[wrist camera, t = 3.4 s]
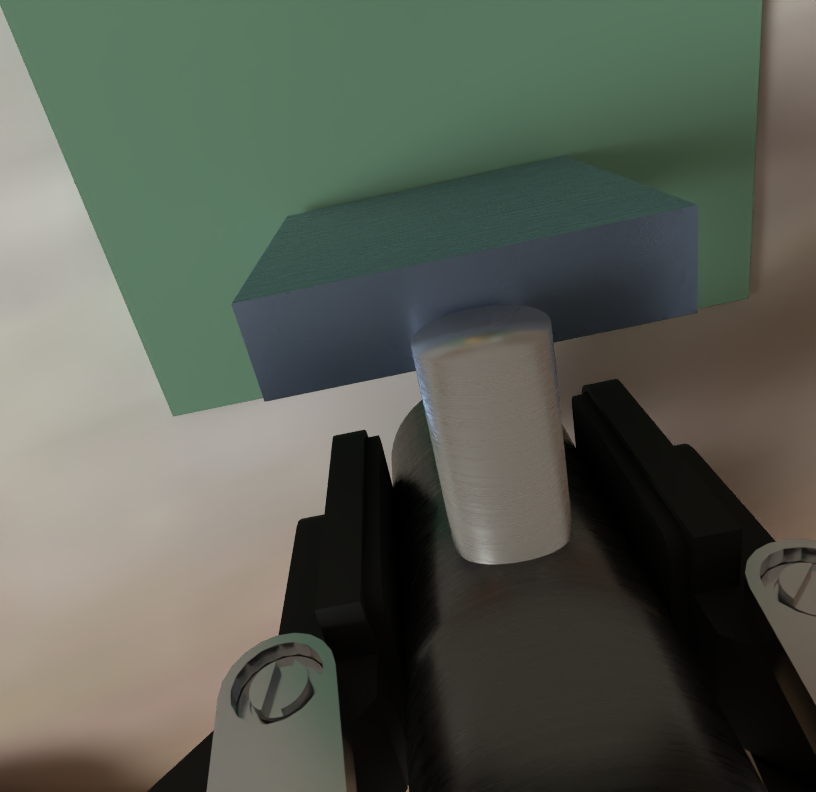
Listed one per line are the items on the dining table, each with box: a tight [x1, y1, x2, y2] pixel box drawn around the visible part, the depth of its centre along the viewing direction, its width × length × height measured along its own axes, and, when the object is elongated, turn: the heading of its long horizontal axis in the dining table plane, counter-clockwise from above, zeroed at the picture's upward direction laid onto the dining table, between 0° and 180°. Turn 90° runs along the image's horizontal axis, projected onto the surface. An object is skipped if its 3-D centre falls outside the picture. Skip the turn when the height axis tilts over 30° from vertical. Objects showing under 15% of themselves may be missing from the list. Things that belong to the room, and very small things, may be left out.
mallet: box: [231, 155, 768, 792], centre depth 11 cm, size 5×18×9 cm, turn 11°
